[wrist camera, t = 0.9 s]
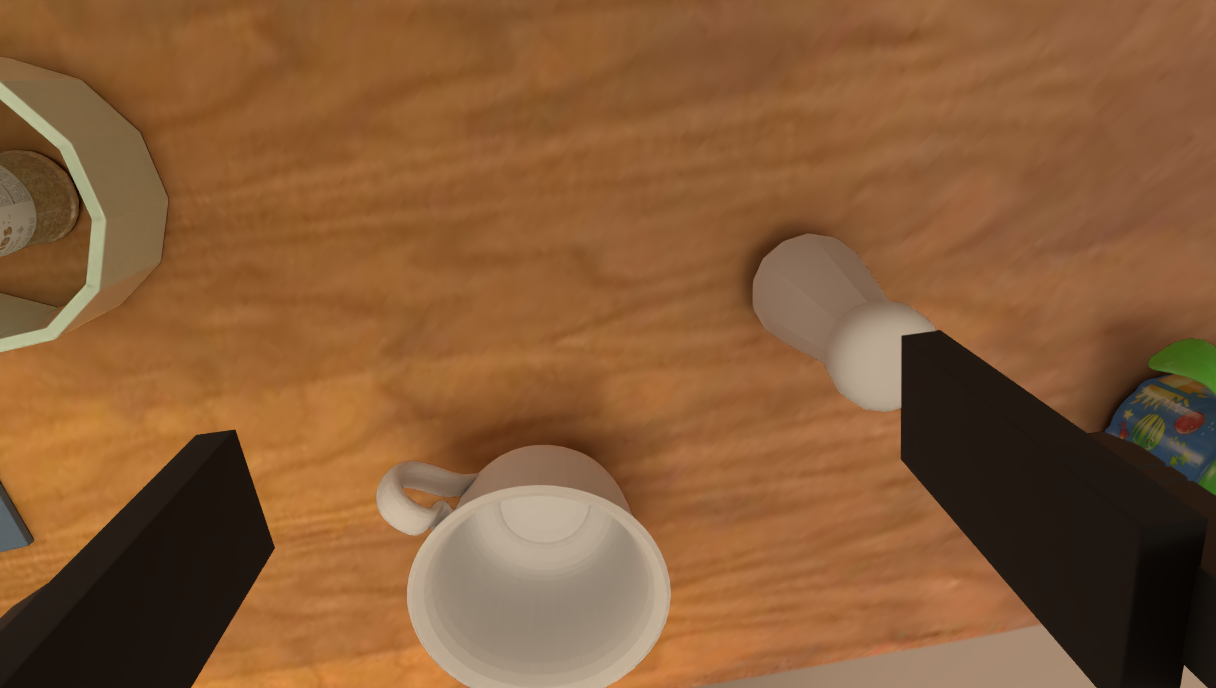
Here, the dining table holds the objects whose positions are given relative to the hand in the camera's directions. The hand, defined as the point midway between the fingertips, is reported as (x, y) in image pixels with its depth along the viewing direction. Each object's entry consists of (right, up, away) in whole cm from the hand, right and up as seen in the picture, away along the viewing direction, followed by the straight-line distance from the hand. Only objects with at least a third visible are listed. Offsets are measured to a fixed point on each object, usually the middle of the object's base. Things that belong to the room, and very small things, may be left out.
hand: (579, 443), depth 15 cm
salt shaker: (+11, +5, +26) cm, 28 cm away
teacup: (-4, -6, +29) cm, 30 cm away
